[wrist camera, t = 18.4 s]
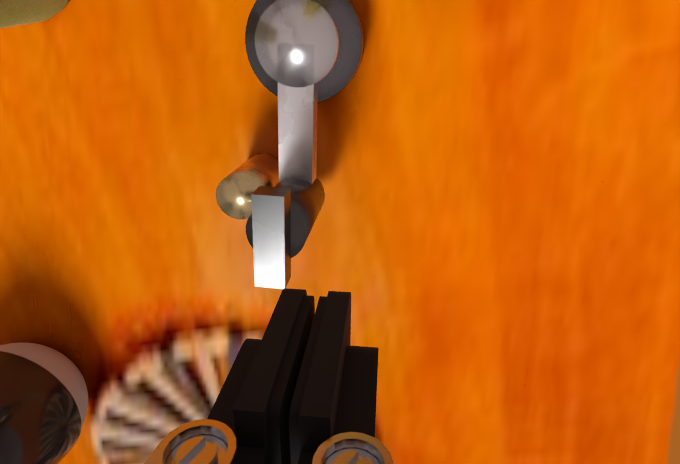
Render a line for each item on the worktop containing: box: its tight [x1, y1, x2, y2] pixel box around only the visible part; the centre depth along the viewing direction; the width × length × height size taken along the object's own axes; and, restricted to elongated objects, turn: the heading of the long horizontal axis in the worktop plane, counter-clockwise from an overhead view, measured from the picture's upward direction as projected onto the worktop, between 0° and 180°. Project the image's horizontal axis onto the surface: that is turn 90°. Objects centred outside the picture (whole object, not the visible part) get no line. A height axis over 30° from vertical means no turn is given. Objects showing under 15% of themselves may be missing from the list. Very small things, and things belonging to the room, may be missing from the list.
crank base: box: [216, 0, 364, 219], centre depth 24 cm, size 12×7×5 cm, turn 0°
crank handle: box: [246, 0, 341, 289], centre depth 21 cm, size 12×4×7 cm, turn 178°
